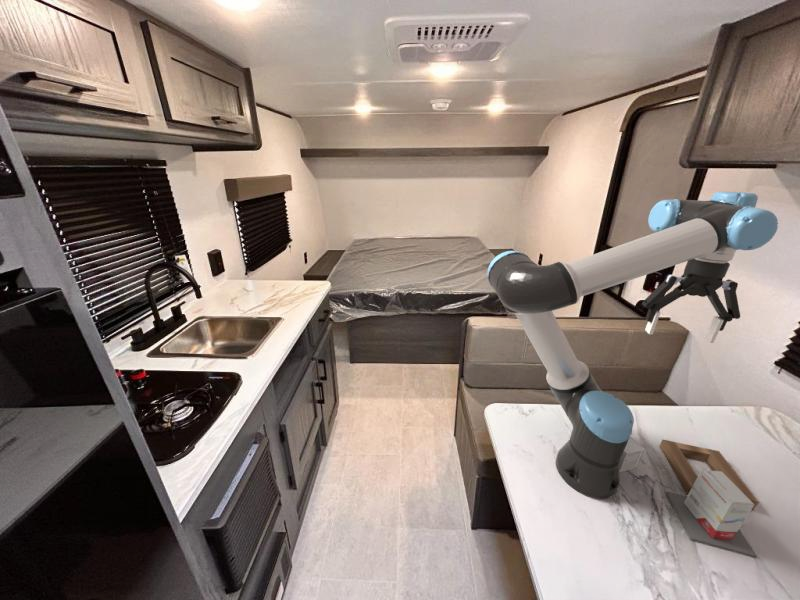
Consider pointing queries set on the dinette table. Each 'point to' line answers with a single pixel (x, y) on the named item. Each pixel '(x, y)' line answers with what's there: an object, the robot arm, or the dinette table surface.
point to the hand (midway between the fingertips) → (677, 336)
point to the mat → (700, 534)
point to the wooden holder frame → (713, 458)
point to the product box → (630, 456)
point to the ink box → (718, 504)
